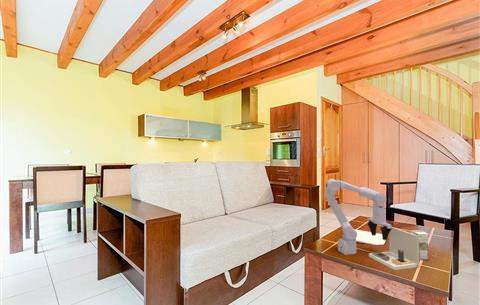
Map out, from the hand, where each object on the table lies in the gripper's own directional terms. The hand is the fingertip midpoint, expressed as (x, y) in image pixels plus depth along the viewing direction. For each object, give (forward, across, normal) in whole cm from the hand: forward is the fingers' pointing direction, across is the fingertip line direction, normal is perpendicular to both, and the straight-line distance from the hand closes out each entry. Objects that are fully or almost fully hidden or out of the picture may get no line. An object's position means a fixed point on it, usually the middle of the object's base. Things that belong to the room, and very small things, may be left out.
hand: (379, 237), depth 129 cm
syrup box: (+11, -7, -20) cm, 24 cm away
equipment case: (+10, -9, +1) cm, 14 cm away
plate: (+11, +25, -13) cm, 31 cm away
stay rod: (+9, -13, 0) cm, 16 cm away
